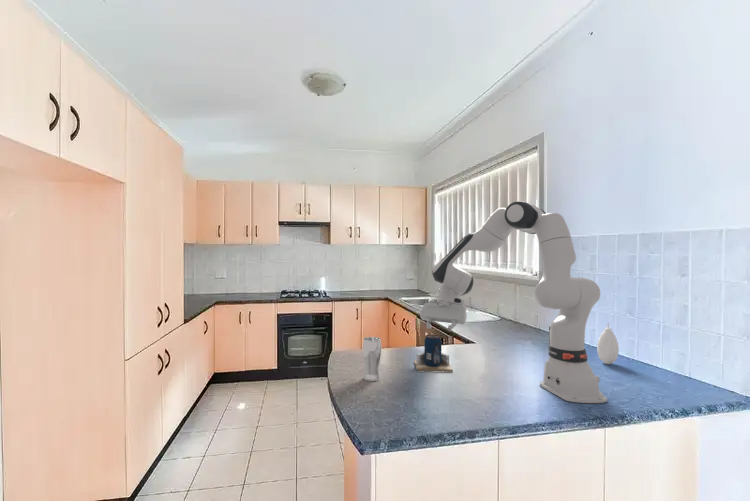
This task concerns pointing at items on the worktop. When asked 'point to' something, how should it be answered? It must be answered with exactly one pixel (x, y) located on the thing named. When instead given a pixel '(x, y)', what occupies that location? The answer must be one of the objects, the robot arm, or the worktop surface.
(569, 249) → the robot arm
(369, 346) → the beer glass
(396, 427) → the worktop surface
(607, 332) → the white tall egg shape
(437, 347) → the soda can
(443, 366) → the napkin holder
